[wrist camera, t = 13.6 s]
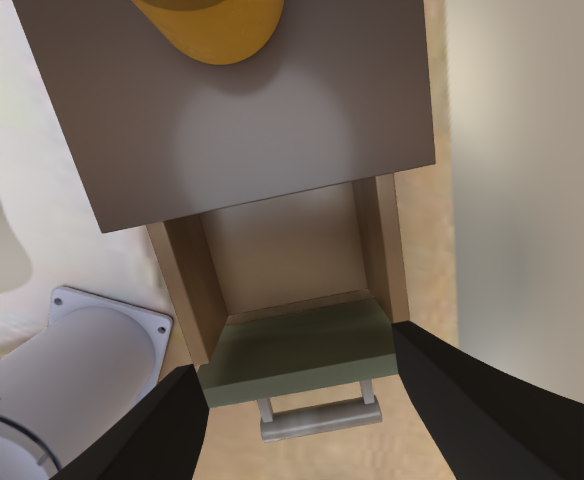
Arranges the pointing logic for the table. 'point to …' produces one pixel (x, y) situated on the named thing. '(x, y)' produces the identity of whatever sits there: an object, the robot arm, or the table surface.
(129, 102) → the cabinet
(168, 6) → the tin
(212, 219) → the drawer
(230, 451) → the table surface
